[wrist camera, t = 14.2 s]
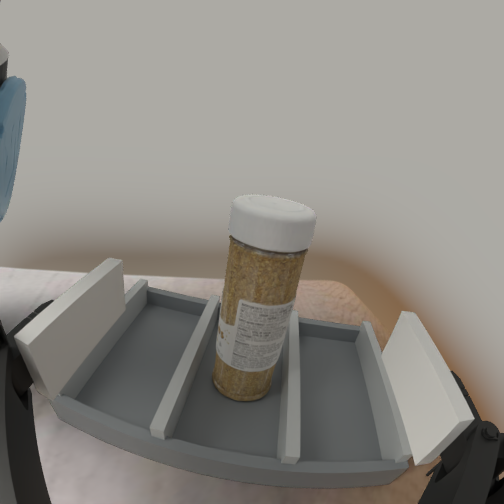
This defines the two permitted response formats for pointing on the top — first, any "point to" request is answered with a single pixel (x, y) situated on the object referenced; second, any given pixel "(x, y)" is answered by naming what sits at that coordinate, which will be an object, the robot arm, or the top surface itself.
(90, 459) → the top surface
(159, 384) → the tray
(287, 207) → the spice jar
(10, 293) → the top surface
